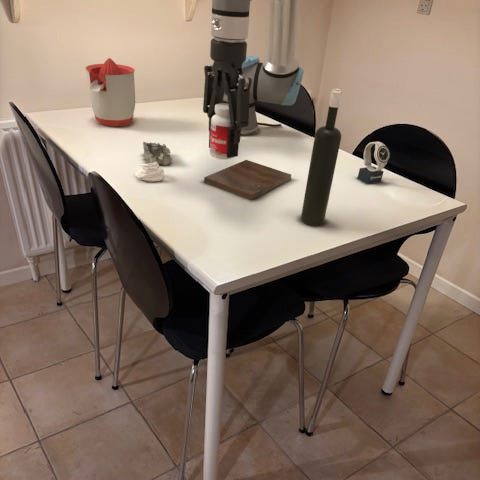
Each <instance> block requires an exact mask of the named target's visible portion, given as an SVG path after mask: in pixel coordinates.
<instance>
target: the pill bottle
mask: <svg viewBox="0 0 480 480" xmlns="http://www.w3.org/2000/svg"><path fill="white" fill-rule="evenodd" d="M215 113H216V114H215V115H214V116H213V117H212V119H211V137H210V148H209V154H210V156H211V157H212V158H215V159H218V160H224V161H225V160H231V159H234V158H235V157H231V158H228V157H227V143H228V128H229V127H231V122H230V113H229V105H228V104H226V103H219V104H216V105H215ZM236 122H237V121H236Z"/></svg>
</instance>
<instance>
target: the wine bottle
mask: <svg viewBox="0 0 480 480" xmlns="http://www.w3.org/2000/svg"><path fill="white" fill-rule="evenodd" d="M342 93H343V92H342V90H341V88H337V87H333V88H332V90H331V91H330V96H329V102H328V110H327V115H326V121H325V125H324V126H320V127H319V128H318V129H317V130H316V131H315V132H314V133H315V134H314V138H313V145H312V151H311V156H310V162H309V169H308V173H307V179H306V184H305V185H306V187H305V191H304V198H303V203H302V208H301V215H300V221H301V222H302V223H303V224H305V225H308V226H313V227H318V226H322V225H324V223H325V219H326V214H327V210H328V204H329V199H330V195H331V189H332V185H333V180H334V175H335V170H336V164H337V161H338V155H339V150H340V146H341V141H342V133H341V131H340V129H338V128H337V127H335V126H336V121H337V116H338V110H339V107H340V103H341V98H342Z"/></svg>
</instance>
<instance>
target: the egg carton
mask: <svg viewBox="0 0 480 480" xmlns="http://www.w3.org/2000/svg"><path fill="white" fill-rule="evenodd" d="M142 147H143V148H142V149H143V156H144V157H145V160H146V164H150V163H154V162H157V163H158V165H162V166H168V165H170V164H171V160H172V159H171V149H170V148H169V147H167V145H166V144H165V143H163V144H160V142H157V143H156V142H146V141H142Z"/></svg>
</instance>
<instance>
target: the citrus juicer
mask: <svg viewBox="0 0 480 480" xmlns="http://www.w3.org/2000/svg"><path fill="white" fill-rule="evenodd" d="M85 71H86V76H87V85H88V86H87V87H88V95H89V96H88V97H89V101H90V105H91V109H92V112H93V115H94V118H95V119H96V121H97V123H98V124H100V125H103V126H109V127H115V128H119V127H123V126H128V125H130V124H131V123H132V122H133V118H134V116H135V115H134V114H135V109H136V108H135V107H136V86H135V85H136V83H135V71H136V70H135V68H134V67H132V66H129V65H126V64H125V65H124V64H117V63H116V62H115V61H114V60H113V59H112V58H110V57H108V58H107V59H106V60H105V61H104V62H103V63H95V64H89V65H87V66H86V67H85Z"/></svg>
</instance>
